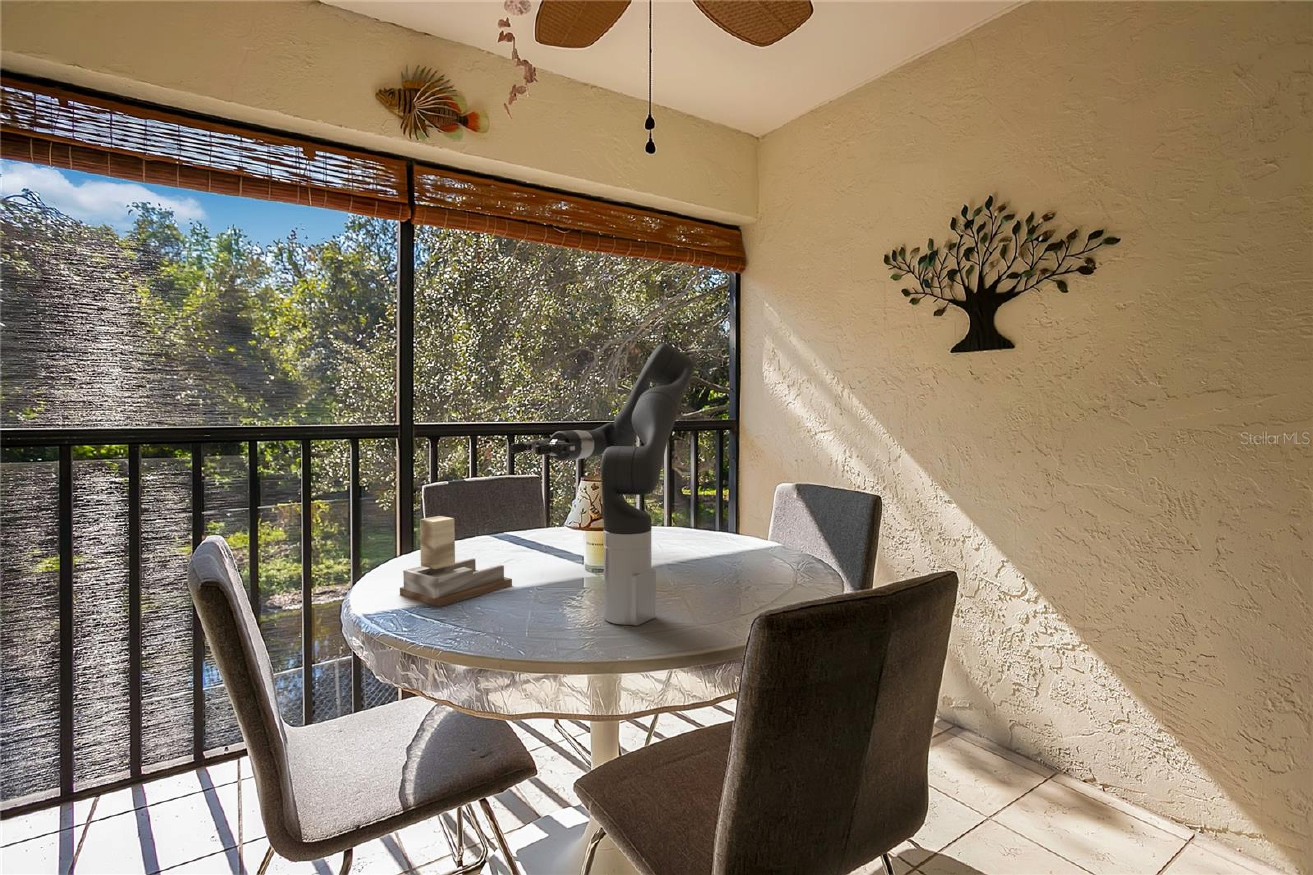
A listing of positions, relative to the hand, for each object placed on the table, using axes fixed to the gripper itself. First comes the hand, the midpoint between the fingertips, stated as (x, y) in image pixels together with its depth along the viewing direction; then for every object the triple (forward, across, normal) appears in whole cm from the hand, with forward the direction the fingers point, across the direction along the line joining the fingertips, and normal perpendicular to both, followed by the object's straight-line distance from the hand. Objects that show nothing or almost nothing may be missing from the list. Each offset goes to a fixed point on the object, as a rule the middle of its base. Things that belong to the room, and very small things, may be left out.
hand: (523, 449), depth 156 cm
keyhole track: (+17, -3, +30) cm, 35 cm away
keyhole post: (+22, -3, +28) cm, 36 cm away
